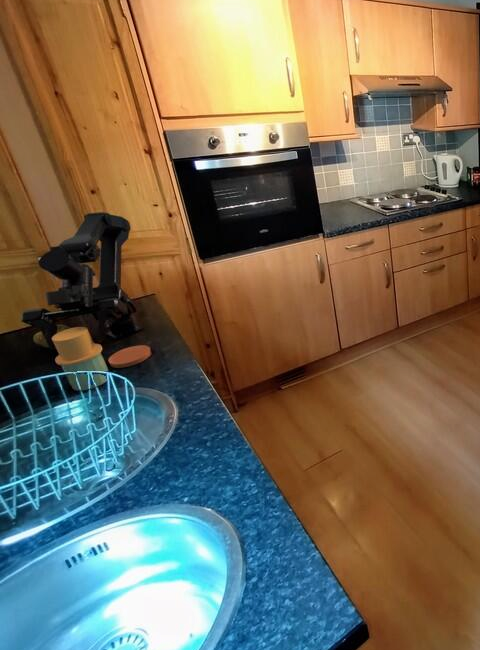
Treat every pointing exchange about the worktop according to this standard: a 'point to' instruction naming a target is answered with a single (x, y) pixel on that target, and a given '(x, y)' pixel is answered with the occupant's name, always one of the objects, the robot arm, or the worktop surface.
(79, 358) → the orange top hat
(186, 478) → the worktop surface
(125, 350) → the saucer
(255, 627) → the worktop surface
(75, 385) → the pale green cylinder
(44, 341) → the potato
